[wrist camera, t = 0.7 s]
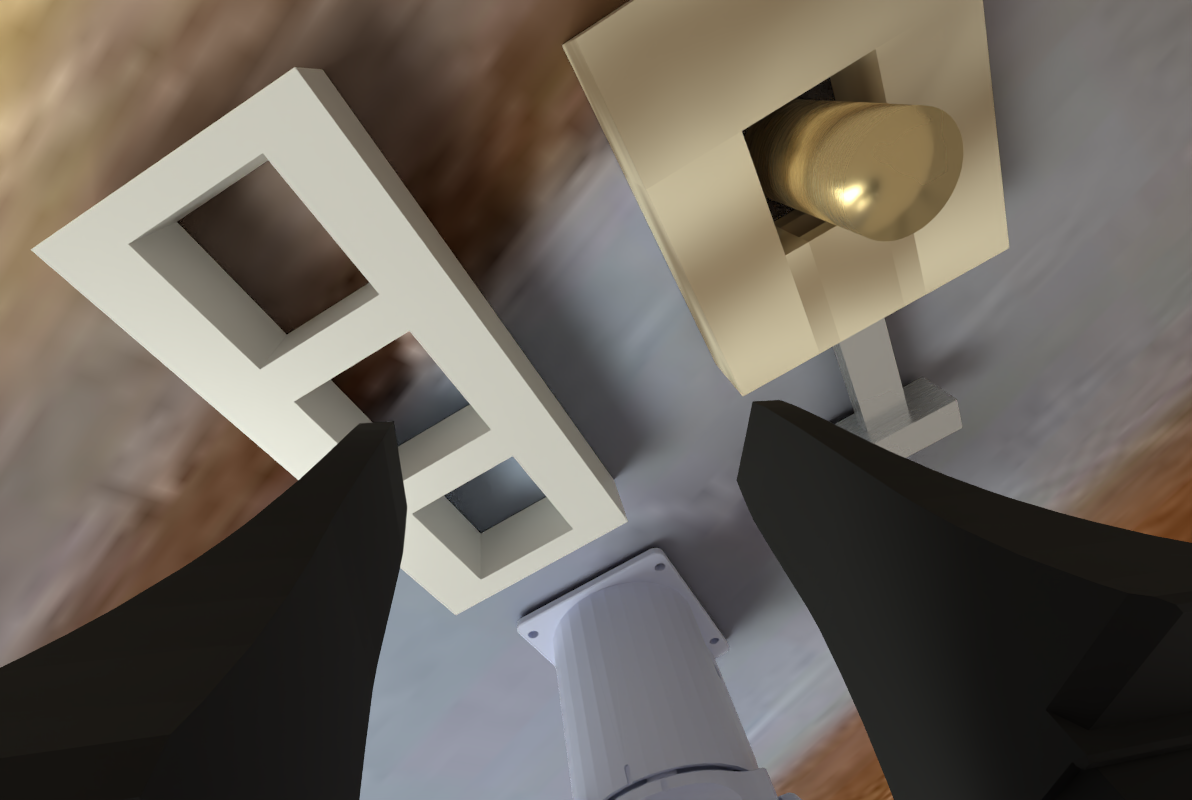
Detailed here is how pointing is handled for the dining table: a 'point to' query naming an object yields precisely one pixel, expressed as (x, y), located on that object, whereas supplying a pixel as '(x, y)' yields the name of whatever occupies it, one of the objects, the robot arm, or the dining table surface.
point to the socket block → (729, 180)
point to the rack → (343, 334)
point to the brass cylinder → (859, 163)
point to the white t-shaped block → (891, 397)
